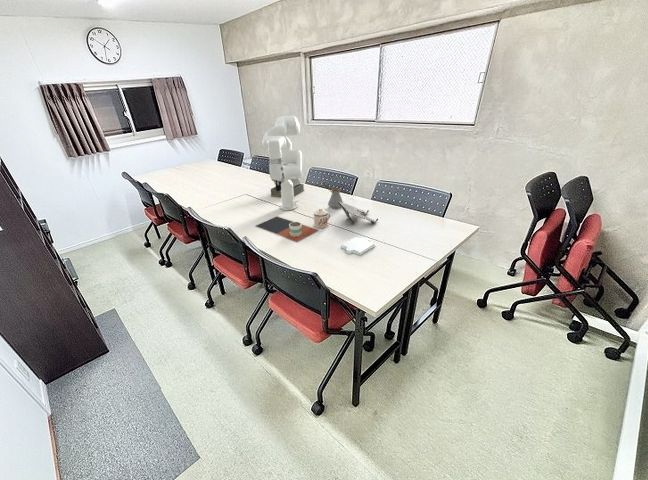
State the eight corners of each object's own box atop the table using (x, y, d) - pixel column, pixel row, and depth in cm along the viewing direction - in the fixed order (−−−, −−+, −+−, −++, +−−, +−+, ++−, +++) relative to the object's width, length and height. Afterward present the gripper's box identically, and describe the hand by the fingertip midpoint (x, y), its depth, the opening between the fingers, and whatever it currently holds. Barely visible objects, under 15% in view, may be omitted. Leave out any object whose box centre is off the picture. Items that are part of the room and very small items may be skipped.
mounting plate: (357, 257, 149) (357, 254, 148) (338, 249, 158) (338, 246, 157) (377, 244, 159) (377, 241, 158) (358, 238, 168) (358, 235, 167)
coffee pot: (346, 207, 210) (347, 187, 202) (334, 211, 206) (334, 190, 198) (329, 200, 226) (329, 181, 218) (317, 203, 222) (317, 184, 214)
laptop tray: (373, 233, 184) (380, 221, 180) (343, 223, 177) (350, 209, 173) (360, 220, 203) (366, 208, 199) (333, 210, 196) (338, 197, 192)
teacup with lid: (319, 229, 181) (318, 212, 175) (311, 225, 188) (310, 208, 182) (334, 224, 186) (334, 207, 180) (325, 220, 193) (325, 204, 187)
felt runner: (276, 216, 205) (276, 216, 204) (318, 230, 181) (318, 230, 180) (255, 226, 193) (255, 225, 193) (296, 241, 169) (296, 241, 169)
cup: (297, 230, 182) (297, 220, 179) (304, 234, 176) (304, 224, 173) (287, 233, 179) (286, 223, 176) (293, 237, 173) (292, 228, 170)
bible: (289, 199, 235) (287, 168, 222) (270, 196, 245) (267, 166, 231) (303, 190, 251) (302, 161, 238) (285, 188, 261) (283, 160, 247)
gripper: (288, 160, 169) (291, 191, 179) (271, 158, 178) (274, 186, 188) (280, 164, 164) (282, 194, 175) (262, 161, 173) (266, 190, 184)
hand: (278, 190), depth 181 cm, fingers closed
